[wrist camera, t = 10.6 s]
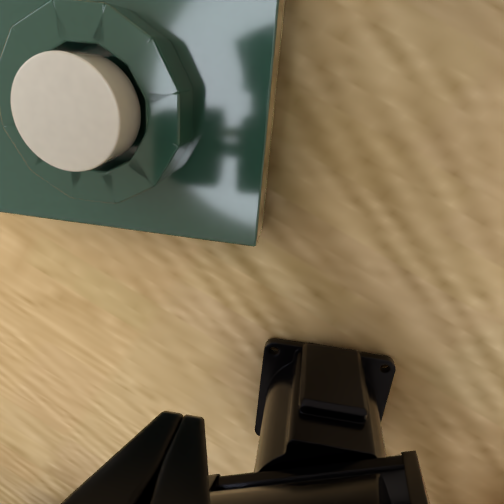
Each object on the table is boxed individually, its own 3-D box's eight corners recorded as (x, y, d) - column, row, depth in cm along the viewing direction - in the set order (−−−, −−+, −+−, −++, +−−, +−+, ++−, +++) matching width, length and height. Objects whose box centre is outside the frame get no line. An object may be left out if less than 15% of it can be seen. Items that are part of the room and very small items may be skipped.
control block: (288, -29, 15) (278, -58, 12) (262, 228, 19) (249, 266, 16) (-19, -51, 16) (-114, -82, 13) (18, 196, 21) (-46, 225, 17)
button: (140, 56, 14) (116, 56, 12) (143, 166, 15) (122, 178, 14) (36, 46, 14) (0, 45, 13) (49, 155, 16) (18, 165, 14)
